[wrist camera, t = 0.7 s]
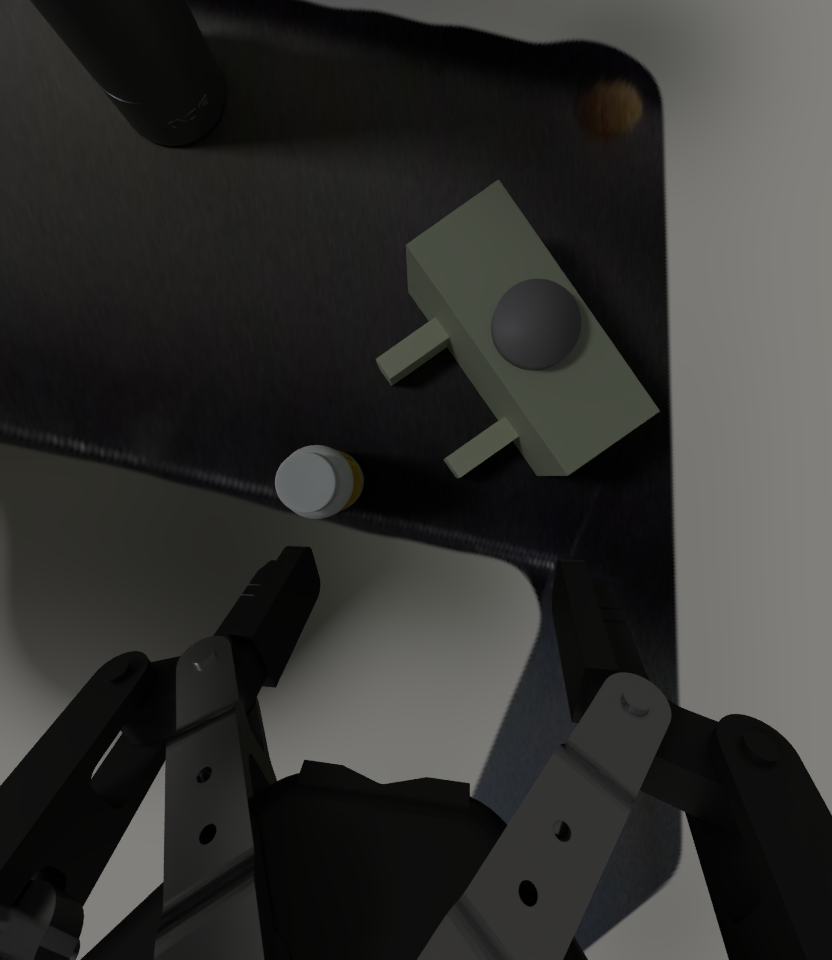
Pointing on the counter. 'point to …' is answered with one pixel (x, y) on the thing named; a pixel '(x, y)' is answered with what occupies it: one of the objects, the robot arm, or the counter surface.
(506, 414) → the olive footed block
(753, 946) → the robot arm
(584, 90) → the counter surface
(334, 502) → the supplement bottle
